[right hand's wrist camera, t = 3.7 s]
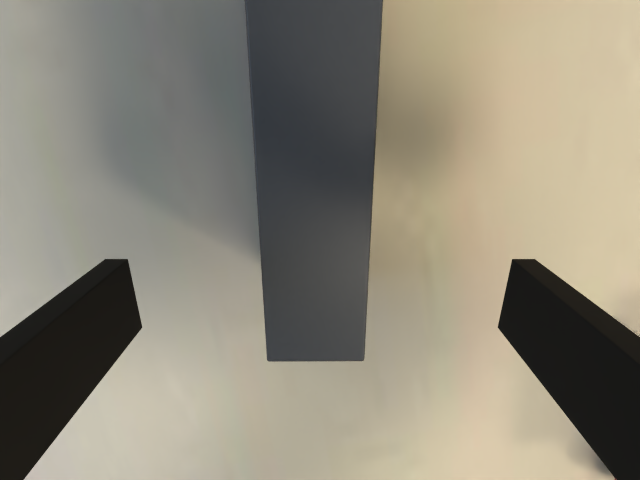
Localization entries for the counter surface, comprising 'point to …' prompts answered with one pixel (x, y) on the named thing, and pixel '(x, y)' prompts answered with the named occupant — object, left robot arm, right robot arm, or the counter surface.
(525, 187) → the counter surface
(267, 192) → the beam
